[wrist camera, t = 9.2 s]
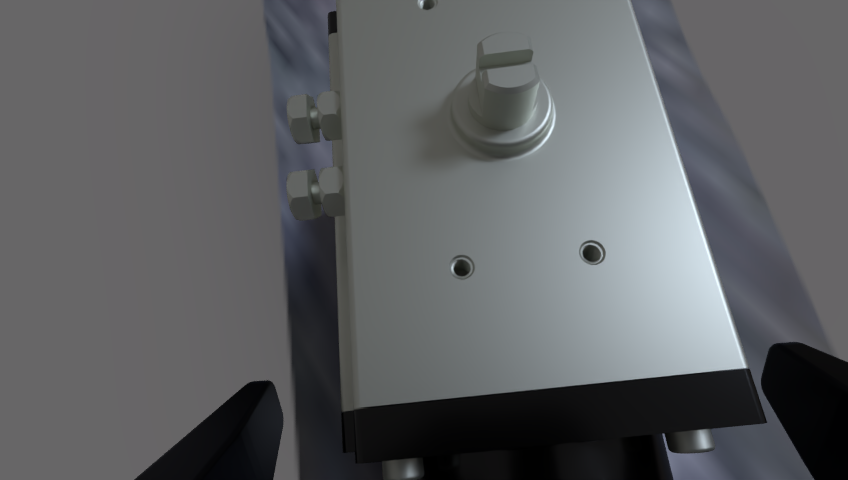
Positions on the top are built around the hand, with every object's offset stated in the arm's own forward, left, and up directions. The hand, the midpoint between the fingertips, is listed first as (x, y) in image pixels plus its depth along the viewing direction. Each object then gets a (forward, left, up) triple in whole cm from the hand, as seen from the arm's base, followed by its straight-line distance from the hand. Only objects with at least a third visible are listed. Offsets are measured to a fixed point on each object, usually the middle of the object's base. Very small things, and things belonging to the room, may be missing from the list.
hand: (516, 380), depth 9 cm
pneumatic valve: (+4, 0, -8) cm, 9 cm away
